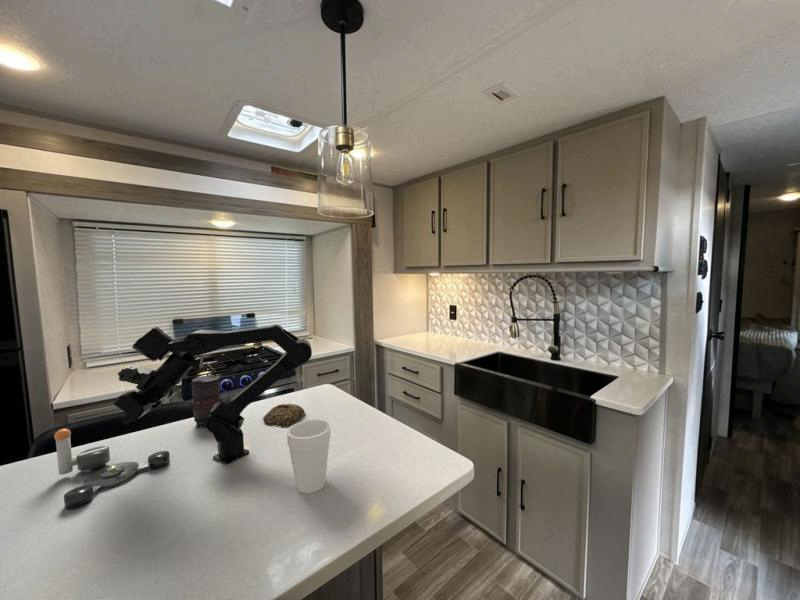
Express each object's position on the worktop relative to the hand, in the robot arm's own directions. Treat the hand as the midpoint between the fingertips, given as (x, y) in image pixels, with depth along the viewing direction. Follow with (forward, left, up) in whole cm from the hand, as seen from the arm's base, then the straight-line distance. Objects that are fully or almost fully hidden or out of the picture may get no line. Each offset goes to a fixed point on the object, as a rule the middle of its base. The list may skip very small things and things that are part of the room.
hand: (124, 422), depth 81 cm
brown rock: (-11, -39, -13) cm, 43 cm away
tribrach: (+3, +3, -12) cm, 13 cm away
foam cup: (-45, -16, -13) cm, 49 cm away
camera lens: (+9, -26, -13) cm, 30 cm away
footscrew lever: (+10, +5, -11) cm, 16 cm away
